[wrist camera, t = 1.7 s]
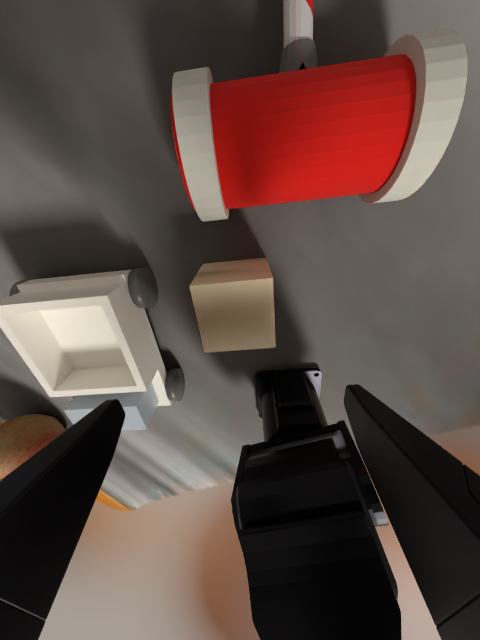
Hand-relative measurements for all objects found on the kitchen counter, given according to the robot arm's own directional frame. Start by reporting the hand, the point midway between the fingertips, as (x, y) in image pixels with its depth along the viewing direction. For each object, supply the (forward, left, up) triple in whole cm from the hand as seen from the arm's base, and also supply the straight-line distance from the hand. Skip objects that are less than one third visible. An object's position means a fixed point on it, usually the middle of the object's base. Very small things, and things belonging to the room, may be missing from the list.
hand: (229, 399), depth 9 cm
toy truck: (-4, +12, -11) cm, 17 cm away
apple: (-15, +25, -12) cm, 31 cm away
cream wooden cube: (0, 0, -12) cm, 12 cm away
